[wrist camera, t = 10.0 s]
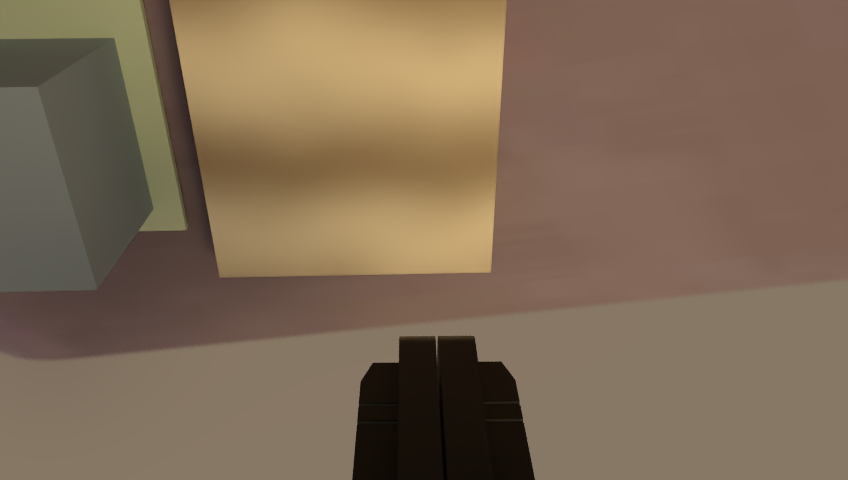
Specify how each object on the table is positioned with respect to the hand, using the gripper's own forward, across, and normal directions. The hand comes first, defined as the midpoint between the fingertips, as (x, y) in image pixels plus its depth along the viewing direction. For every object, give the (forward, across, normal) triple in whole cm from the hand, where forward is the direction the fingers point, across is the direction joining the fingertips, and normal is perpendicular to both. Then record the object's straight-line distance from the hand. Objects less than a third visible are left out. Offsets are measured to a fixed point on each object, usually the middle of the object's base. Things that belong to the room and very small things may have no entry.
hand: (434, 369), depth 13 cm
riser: (+15, +3, +1) cm, 15 cm away
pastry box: (+14, +15, +1) cm, 21 cm away
